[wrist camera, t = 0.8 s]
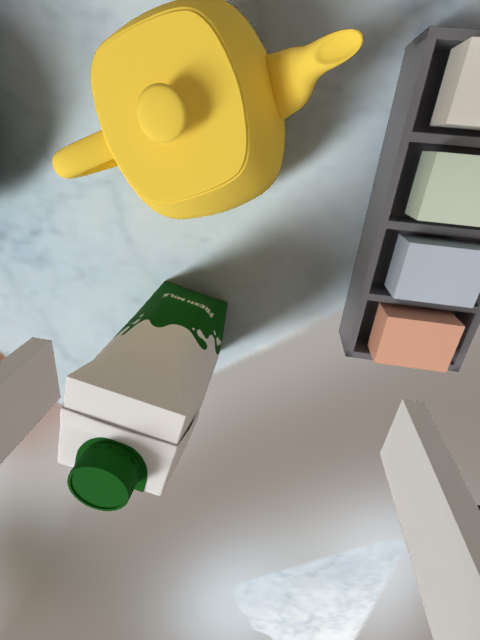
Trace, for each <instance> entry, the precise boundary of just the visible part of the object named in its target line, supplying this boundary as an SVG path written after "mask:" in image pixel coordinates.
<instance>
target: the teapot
mask: <svg viewBox="0 0 480 640" xmlns="http://www.w3.org/2000/svg"><path fill="white" fill-rule="evenodd" d="M362 43H363V35H362V33H361V32H360V31H359V30H355V29H344V30H339V31H335V32H332V33H330V34H327V35H325V36H323V37H321V38H319V39H318V40H316V41H314V42H312V43H310V44H307V45H305V46H297V47H291V48H288V49H285V50H282V51H279V52H276V53H271V54H267V52H266V50H265V48H264V46H263V45H262V43H261V41H260V39H259V38H258V36H257V34H256V32H255V31H254V29H253V28H252V26H251V25H250V24H249V22H248V21H247V19H246V18H245V17H244V16H243V15H242V14H241V13H240V12H239V11H238V10H237V9H236V8H235V7H234V6H232V5H231V4H229V3H227V2H226V1H224V0H175V1H172V2H169V3H166V4H163V5H161V6H158V7H156V8H154V9H152V10H149V11H147V12H145V13H143V14H142V15H140V16H138V17H136V18H135V19H133V20H131V21H130V22H128V23H127V24H126V25H124V26H123V27H121V28H120V29H119V30H117V31H116V32H115V33H114V34H112V35H111V36H110V37H109V38H107V39H106V40H105V41H104V42H103V43H102V44H101V45H100V46H99V48H98V49H97V50H96V53H95V55H94V57H93V61H92V66H91V85H92V93H93V98H94V103H95V107H96V111H97V115H98V119H99V122H100V126H101V129H102V130H101V131H99V132H96V133H94V134H92V135H89V136H87V137H85V138H83V139H80V140H78V141H76V142H74V143H72V144H70V145H68V146H66V147H64V148H62V149H60V150H59V151H58V152H57V153H55V155H54V156H53V159H52V163H53V167H54V170H55V171H56V173H57V174H58V175H59V176H61V177H63V178H67V179H71V178H77V177H82V176H85V175H89V174H93V173H96V172H100V171H103V170H106V169H109V168H113V167H116V166H118V167H119V168H120V170H121V172H122V173H123V175H124V177H125V178H126V180H127V181H128V182H129V184H130V185H131V187H132V188H133V189H134V191H135V192H136V193H137V195H138V196H139V197H140V198H141V199H142V200H143V201H144V202H145V203H146V204H147V205H148V206H149V207H151V208H152V209H153V210H154V211H156V212H158V213H159V214H161V215H164V216H167V217H170V218H174V219H190V218H198V217H203V216H209V215H214V214H217V213H221V212H225V211H228V210H230V209H233V208H235V207H238V206H240V205H242V204H244V203H246V202H248V201H250V200H252V199H254V198H256V197H257V196H259V195H261V194H263V193H264V192H265V191H266V190H267V189H268V188H269V187H270V186H271V185H272V184H273V182H274V181H275V180H276V178H277V176H278V174H279V172H280V169H281V165H282V162H283V155H284V147H285V119H286V118H287V117H289V116H290V115H292V114H293V113H295V112H296V111H298V110H300V109H301V108H302V107H303V106H304V105H305V104H306V102H307V101H308V100H309V98H310V96H311V94H312V92H313V89H314V86H315V84H316V82H317V80H318V79H319V77H320V76H321V75H323V74H324V73H325V72H327V71H329V70H331V69H332V68H334V67H336V66H338V65H340V64H342V63H343V62H345V61H347V60H348V59H350V58H351V57H352V56H353V55H354V54H355V53H356V52H357V51H358V50H359V49H360V47H361V45H362Z"/></svg>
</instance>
